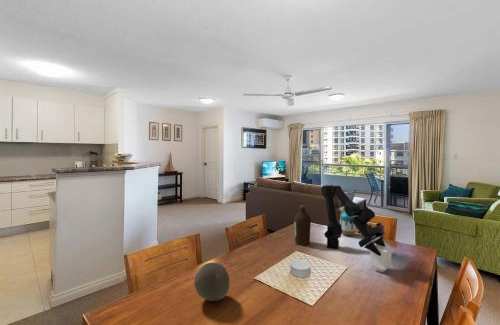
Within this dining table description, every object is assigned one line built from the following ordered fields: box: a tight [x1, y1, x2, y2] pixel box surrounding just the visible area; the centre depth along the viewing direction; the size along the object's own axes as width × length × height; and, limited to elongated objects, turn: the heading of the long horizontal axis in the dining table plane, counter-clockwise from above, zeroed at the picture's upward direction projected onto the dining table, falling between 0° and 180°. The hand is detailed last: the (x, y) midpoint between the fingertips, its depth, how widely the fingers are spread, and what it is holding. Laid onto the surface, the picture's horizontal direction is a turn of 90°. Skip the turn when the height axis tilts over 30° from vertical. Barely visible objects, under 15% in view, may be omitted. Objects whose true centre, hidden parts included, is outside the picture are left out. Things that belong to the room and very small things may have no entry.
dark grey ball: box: [193, 262, 231, 302], centre depth 103 cm, size 14×14×15 cm
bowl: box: [375, 267, 386, 273], centre depth 127 cm, size 4×4×3 cm
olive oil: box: [293, 205, 312, 247], centre depth 164 cm, size 11×11×25 cm
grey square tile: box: [391, 254, 412, 269], centre depth 138 cm, size 14×14×1 cm
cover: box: [369, 244, 393, 271], centre depth 126 cm, size 7×7×9 cm
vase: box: [339, 209, 357, 236], centre depth 179 cm, size 11×11×19 cm
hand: (383, 253), depth 125 cm, fingers closed on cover, 7 cm apart
